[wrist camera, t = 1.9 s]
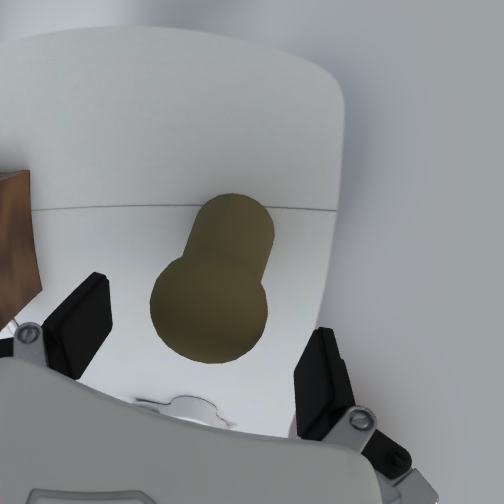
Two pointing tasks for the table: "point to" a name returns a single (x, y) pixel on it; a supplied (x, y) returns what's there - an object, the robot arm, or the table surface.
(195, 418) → the knuckle duster
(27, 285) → the brown wooden box
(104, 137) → the table surface
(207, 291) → the olive pawn figure
